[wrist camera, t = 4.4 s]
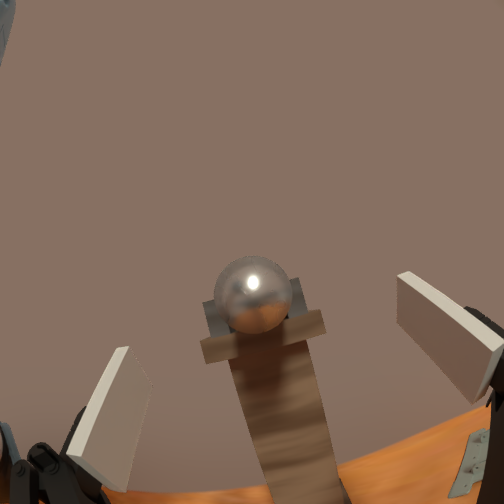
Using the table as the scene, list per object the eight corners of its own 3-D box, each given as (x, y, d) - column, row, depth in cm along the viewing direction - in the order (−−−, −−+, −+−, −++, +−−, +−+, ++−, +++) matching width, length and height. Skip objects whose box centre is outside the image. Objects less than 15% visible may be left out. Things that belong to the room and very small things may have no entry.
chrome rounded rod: (295, 329, 13) (288, 252, 14) (216, 336, 14) (211, 259, 14) (278, 320, 33) (275, 288, 34) (245, 323, 33) (243, 291, 34)
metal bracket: (535, 390, 17) (541, 452, 7) (540, 416, 15) (542, 479, 5) (461, 430, 26) (437, 492, 16) (468, 452, 23) (445, 514, 14)
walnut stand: (365, 538, 14) (310, 273, 22) (281, 560, 14) (191, 305, 22) (341, 486, 28) (293, 289, 36) (278, 502, 28) (219, 308, 36)
